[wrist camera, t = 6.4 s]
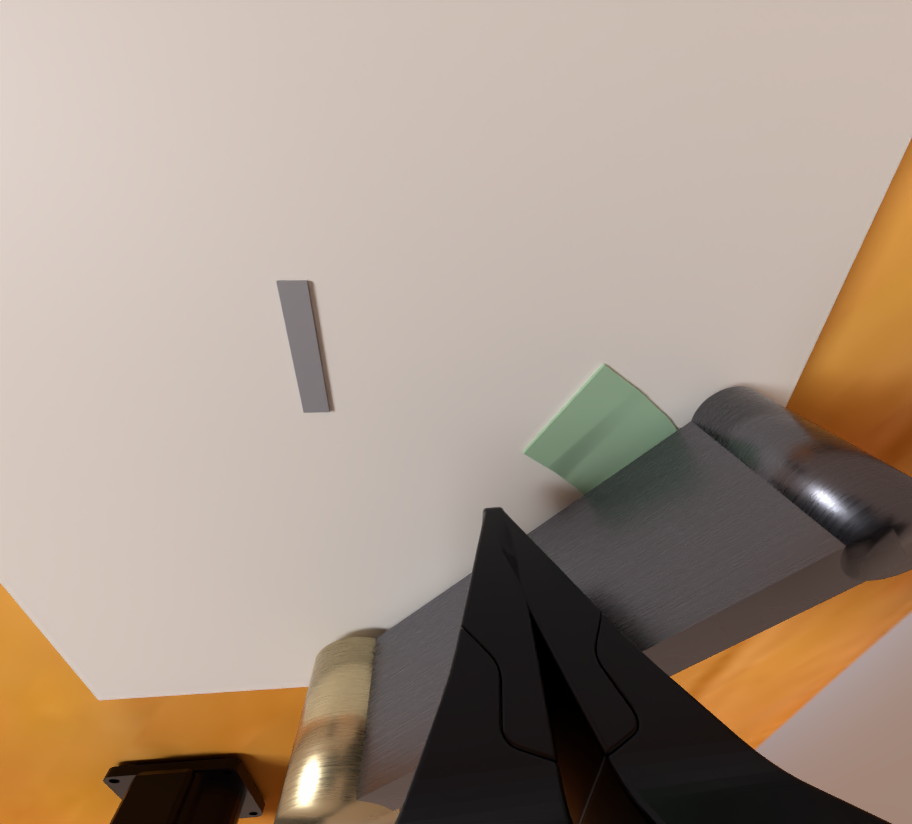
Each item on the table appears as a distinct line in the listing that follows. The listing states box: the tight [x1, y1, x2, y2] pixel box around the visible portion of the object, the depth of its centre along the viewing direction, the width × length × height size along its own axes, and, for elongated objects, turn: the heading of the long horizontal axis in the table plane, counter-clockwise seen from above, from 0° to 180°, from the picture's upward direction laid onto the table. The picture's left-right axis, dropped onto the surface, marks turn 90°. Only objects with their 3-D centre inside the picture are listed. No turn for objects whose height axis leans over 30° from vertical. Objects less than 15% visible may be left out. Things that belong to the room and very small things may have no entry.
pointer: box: [274, 386, 912, 824], centre depth 10 cm, size 16×3×4 cm, turn 133°
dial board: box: [0, 0, 912, 700], centre depth 11 cm, size 20×22×2 cm
